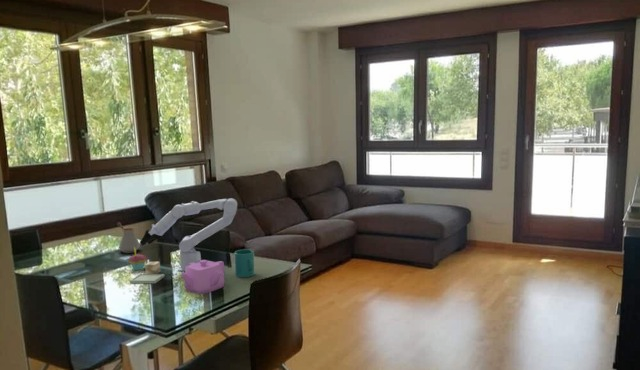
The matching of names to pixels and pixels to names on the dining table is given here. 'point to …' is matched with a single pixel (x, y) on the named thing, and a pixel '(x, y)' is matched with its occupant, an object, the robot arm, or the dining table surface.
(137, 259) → the cupcake
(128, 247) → the coffee pot
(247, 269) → the cup
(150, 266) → the maple cube
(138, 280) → the grey green picture frame
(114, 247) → the dining table surface
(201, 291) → the pink lidded box
